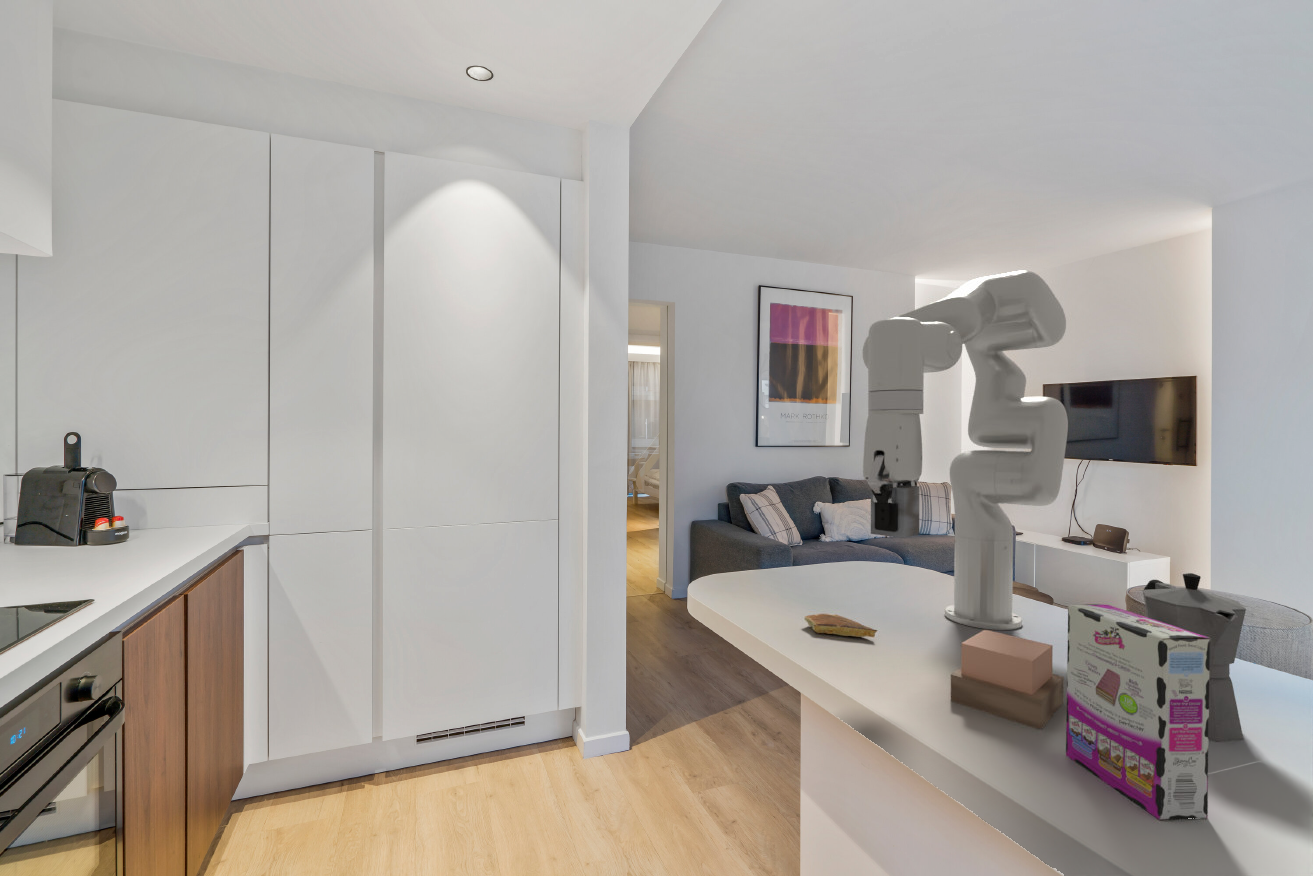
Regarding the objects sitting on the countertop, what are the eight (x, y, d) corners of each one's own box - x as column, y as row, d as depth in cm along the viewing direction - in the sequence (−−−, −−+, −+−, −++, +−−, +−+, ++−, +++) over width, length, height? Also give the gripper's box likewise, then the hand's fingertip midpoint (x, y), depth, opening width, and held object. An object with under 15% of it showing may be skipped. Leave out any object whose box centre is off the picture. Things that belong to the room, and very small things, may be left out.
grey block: (886, 529, 90) (886, 484, 90) (919, 533, 86) (919, 486, 86) (870, 533, 87) (870, 486, 86) (904, 538, 83) (904, 488, 83)
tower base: (978, 683, 82) (978, 655, 82) (1063, 708, 75) (1063, 676, 75) (950, 705, 76) (950, 674, 76) (1040, 734, 68) (1041, 700, 68)
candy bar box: (1212, 821, 52) (1215, 637, 52) (1160, 824, 52) (1163, 638, 52) (1106, 753, 63) (1108, 601, 63) (1062, 755, 63) (1064, 602, 63)
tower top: (984, 658, 81) (984, 629, 81) (1052, 676, 75) (1052, 645, 75) (961, 674, 76) (961, 643, 76) (1032, 694, 70) (1032, 661, 70)
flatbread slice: (877, 639, 97) (877, 628, 97) (840, 645, 94) (840, 634, 94) (834, 621, 107) (834, 611, 107) (799, 626, 104) (799, 616, 104)
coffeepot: (1282, 758, 63) (1284, 590, 63) (1179, 747, 65) (1181, 584, 65) (1187, 696, 78) (1189, 560, 78) (1105, 689, 80) (1107, 556, 80)
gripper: (896, 406, 95) (895, 519, 95) (842, 403, 83) (842, 532, 83) (944, 405, 89) (944, 524, 90) (894, 401, 78) (893, 539, 78)
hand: (895, 526), depth 86 cm, fingers closed on grey block, 5 cm apart
